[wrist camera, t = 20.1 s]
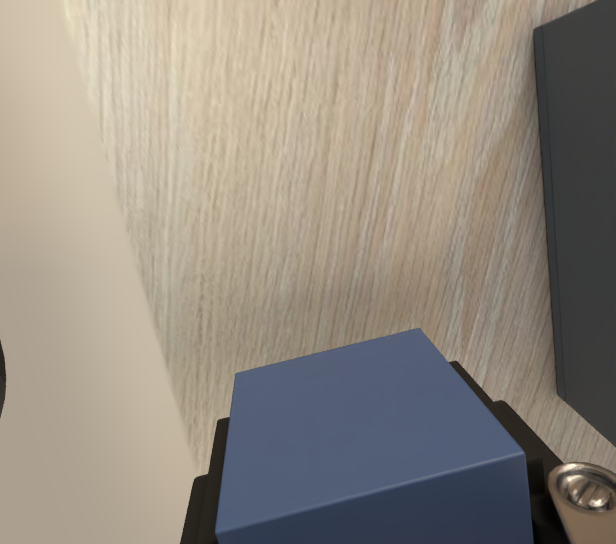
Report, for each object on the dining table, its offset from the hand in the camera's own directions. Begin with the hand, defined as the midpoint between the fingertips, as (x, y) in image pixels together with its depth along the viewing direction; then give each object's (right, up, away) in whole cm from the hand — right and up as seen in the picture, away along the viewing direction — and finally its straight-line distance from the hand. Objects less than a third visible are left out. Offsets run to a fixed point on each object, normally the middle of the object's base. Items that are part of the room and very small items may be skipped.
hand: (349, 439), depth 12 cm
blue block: (0, 0, 0) cm, 1 cm away
